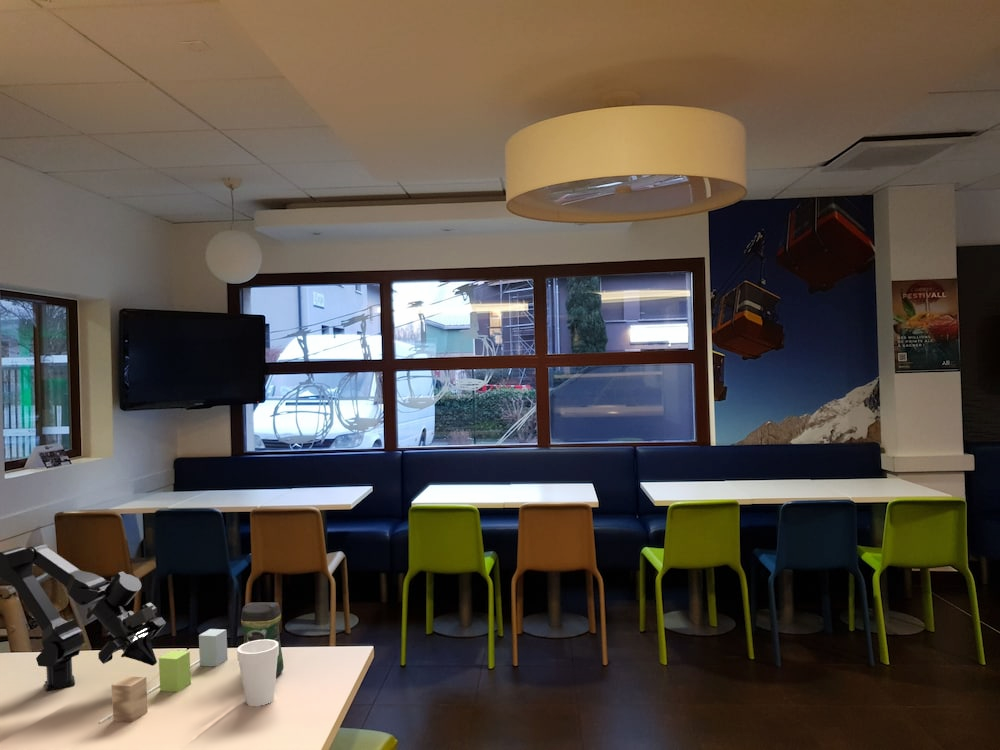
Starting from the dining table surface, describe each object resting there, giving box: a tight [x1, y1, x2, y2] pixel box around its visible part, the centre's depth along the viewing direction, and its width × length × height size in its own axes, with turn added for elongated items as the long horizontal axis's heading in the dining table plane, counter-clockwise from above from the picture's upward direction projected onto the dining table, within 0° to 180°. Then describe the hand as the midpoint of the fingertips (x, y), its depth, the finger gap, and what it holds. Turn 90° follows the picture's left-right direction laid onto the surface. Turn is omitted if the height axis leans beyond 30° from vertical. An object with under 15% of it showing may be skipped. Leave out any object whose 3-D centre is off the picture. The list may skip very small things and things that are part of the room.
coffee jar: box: [240, 601, 284, 677], centre depth 199 cm, size 10×8×19 cm
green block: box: [158, 650, 192, 693], centre depth 190 cm, size 5×5×8 cm
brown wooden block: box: [111, 675, 149, 723], centre depth 174 cm, size 5×5×8 cm
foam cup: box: [236, 639, 279, 707], centre depth 183 cm, size 10×9×13 cm
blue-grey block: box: [198, 628, 229, 667], centre depth 205 cm, size 5×5×8 cm
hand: (155, 664), depth 191 cm, fingers closed
